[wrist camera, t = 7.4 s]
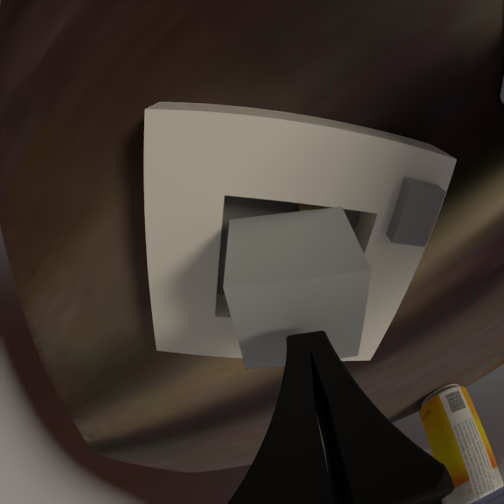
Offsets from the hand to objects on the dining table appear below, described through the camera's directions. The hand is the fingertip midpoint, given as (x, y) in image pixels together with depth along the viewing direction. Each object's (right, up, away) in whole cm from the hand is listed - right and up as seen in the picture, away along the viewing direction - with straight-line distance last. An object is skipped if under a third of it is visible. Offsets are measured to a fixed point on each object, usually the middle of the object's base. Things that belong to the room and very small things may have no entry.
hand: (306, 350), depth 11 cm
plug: (0, +4, +5) cm, 7 cm away
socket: (0, +4, +6) cm, 8 cm away
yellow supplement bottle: (+19, -13, +18) cm, 29 cm away
